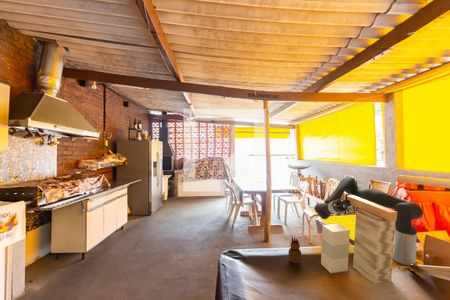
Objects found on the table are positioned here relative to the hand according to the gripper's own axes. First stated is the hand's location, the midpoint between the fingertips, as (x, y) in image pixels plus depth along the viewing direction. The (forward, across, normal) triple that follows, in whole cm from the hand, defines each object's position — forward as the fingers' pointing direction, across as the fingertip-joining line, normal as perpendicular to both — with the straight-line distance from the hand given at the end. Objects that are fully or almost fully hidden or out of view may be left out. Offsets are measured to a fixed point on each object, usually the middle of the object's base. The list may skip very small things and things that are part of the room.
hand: (355, 200), depth 122 cm
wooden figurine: (-22, +33, -27) cm, 48 cm away
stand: (-7, 0, -36) cm, 36 cm away
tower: (-14, +15, -32) cm, 38 cm away
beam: (+6, 0, -6) cm, 9 cm away
